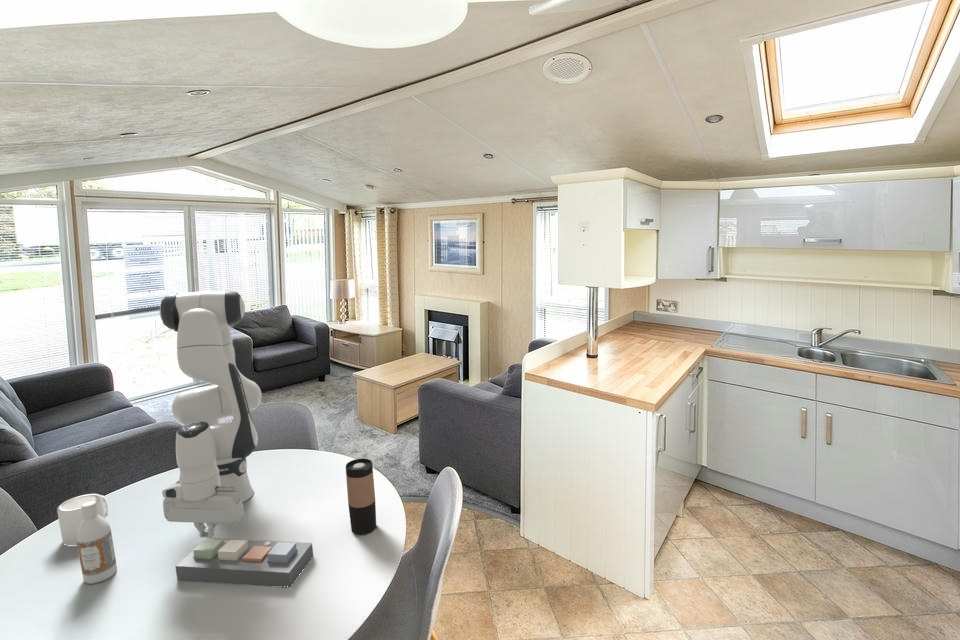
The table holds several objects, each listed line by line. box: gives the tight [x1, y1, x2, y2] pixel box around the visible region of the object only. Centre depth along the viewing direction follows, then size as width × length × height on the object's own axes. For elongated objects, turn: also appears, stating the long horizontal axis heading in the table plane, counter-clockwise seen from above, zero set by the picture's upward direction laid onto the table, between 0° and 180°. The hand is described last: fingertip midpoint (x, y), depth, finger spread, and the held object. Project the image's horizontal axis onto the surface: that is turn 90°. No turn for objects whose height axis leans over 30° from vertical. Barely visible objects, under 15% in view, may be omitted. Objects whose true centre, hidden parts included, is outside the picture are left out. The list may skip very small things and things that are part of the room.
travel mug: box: [345, 458, 377, 536], centre depth 143 cm, size 8×8×20 cm
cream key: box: [218, 539, 248, 561], centre depth 128 cm, size 5×5×4 cm
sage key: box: [192, 538, 225, 560], centre depth 129 cm, size 5×5×4 cm
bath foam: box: [76, 501, 118, 585], centre depth 126 cm, size 7×7×20 cm
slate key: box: [267, 541, 297, 564], centre depth 126 cm, size 5×5×4 cm
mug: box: [56, 493, 109, 545], centre depth 146 cm, size 14×10×11 cm
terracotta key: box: [243, 546, 272, 562], centre depth 127 cm, size 5×5×4 cm
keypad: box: [175, 537, 314, 588], centre depth 128 cm, size 30×12×4 cm, turn 82°
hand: (207, 536), depth 128 cm, fingers closed
